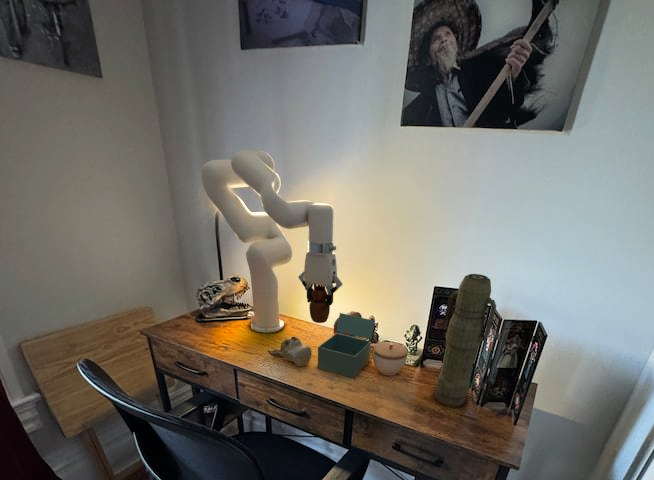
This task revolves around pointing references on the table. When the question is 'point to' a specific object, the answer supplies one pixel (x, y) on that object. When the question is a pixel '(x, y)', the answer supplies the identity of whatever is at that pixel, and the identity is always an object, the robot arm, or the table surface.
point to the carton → (344, 355)
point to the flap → (355, 326)
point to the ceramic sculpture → (293, 351)
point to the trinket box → (389, 357)
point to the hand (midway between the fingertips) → (319, 302)
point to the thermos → (463, 337)
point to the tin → (338, 319)
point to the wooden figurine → (319, 305)
